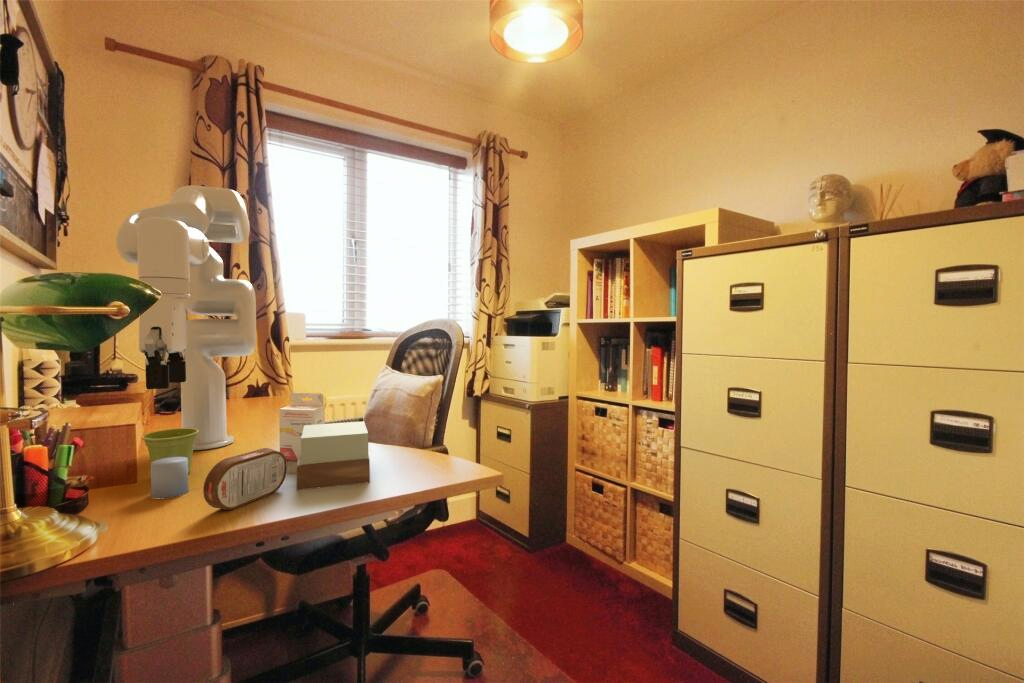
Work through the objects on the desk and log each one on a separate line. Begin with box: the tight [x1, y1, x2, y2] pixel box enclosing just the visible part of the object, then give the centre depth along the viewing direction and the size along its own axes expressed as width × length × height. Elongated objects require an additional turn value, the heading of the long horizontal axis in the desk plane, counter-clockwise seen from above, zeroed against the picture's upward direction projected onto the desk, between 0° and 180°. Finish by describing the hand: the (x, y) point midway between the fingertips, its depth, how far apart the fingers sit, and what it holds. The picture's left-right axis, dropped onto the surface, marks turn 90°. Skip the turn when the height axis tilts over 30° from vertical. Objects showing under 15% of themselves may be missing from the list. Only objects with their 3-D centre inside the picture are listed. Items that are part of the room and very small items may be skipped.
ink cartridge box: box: [279, 392, 325, 462], centre depth 111 cm, size 9×5×15 cm, turn 84°
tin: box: [202, 447, 288, 511], centre depth 85 cm, size 15×3×8 cm, turn 159°
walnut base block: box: [296, 452, 371, 491], centre depth 99 cm, size 13×13×5 cm
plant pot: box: [141, 427, 199, 474], centre depth 99 cm, size 9×9×9 cm
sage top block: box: [301, 420, 369, 465], centre depth 99 cm, size 12×12×5 cm
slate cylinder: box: [150, 457, 190, 500], centre depth 88 cm, size 6×6×6 cm
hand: (167, 385), depth 87 cm, fingers open, 9 cm apart
